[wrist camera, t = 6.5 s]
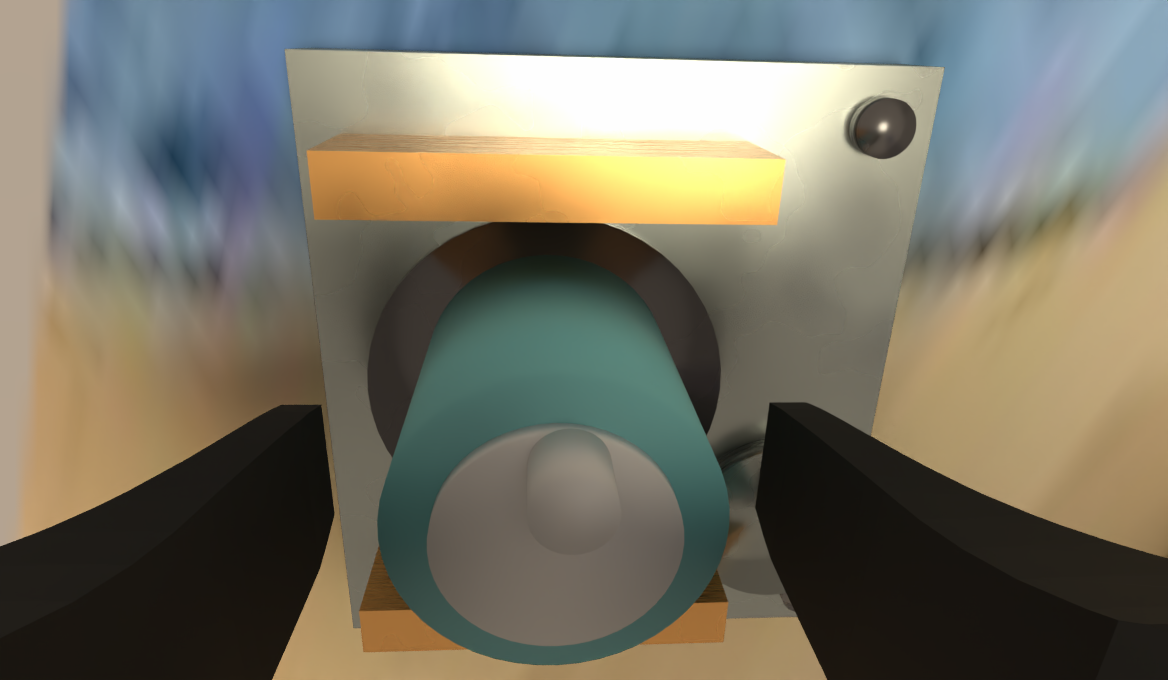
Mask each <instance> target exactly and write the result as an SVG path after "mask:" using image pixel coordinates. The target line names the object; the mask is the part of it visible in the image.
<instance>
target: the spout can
mask: <svg viewBox="0 0 1168 680" xmlns="http://www.w3.org/2000/svg"><path fill="white" fill-rule="evenodd" d="M729 511H730V507H729V500H728V492H727V487H726V484H725V481H724V477H723V474H722V471H721V468H720V466H719V464H718V461H717V459H716V457H715V455H714V452H713V450H712V448H711V445H710V443H709V441H708V439H707V436H706V434H705V432H704V430H703V427H702V425H701V423H700V420H699V418H698V416H697V414H696V411H695V409H694V407H693V404H692V402H691V400H690V398H689V395H688V393H687V391H686V388H685V386H684V384H683V382H682V379H681V377H680V375H679V372H678V370H677V368H676V366H675V363H674V361H673V359H672V357H671V354H670V352H669V350H668V347H667V345H666V343H665V341H664V338H663V336H662V334H661V331H660V329H659V327H658V325H657V323H656V320H655V318H654V316H653V314H652V312H651V311H650V309H649V308H648V306H647V305H646V303H645V302H644V300H643V299H642V298H641V297H640V296H639V294H638V293H637V292H636V291H635V290H634V289H633V288H632V287H631V286H630V285H628V284H627V283H626V282H625V281H624V280H623V279H621V278H620V277H618V276H617V275H615V274H614V273H612V272H610V271H609V270H607V269H605V268H603V267H600V266H598V265H596V264H594V263H591V262H588V261H585V260H581V259H578V258H572V257H567V256H558V255H538V256H528V257H523V258H518V259H514V260H511V261H508V262H505V263H502V264H499V265H497V266H495V267H493V268H491V269H489V270H487V271H485V272H483V273H481V274H480V275H478V276H477V277H475V278H474V279H472V280H471V281H470V282H469V283H467V284H466V285H465V286H464V287H463V288H462V289H461V290H459V291H458V293H457V294H456V295H455V296H454V297H453V298H452V300H451V301H450V302H449V303H448V305H447V306H446V308H445V309H444V311H443V313H442V314H441V316H440V318H439V320H438V322H437V324H436V327H435V329H434V332H433V335H432V338H431V341H430V344H429V347H428V350H427V353H426V357H425V360H424V363H423V366H422V369H421V372H420V375H419V378H418V381H417V384H416V387H415V390H414V394H413V397H412V400H411V403H410V406H409V409H408V412H407V415H406V418H405V421H404V424H403V427H402V430H401V434H400V437H399V440H398V443H397V446H396V449H395V452H394V455H393V458H392V461H391V464H390V467H389V471H388V474H387V477H386V480H385V483H384V487H383V490H382V493H381V497H380V501H379V509H378V517H377V528H378V542H379V547H380V552H381V557H382V560H383V563H384V565H385V568H386V571H387V573H388V576H389V578H390V579H391V581H392V583H393V585H394V587H395V588H396V590H397V592H398V593H399V595H400V596H401V597H402V599H403V600H404V601H405V603H406V604H407V605H408V607H409V608H410V609H411V610H412V611H413V612H414V613H415V614H416V615H417V616H418V617H419V618H420V619H421V620H422V621H423V622H424V623H426V624H427V625H428V626H430V627H431V628H432V629H434V630H435V631H436V632H437V633H439V634H440V635H442V636H444V637H445V638H447V639H449V640H451V641H452V642H454V643H456V644H458V645H460V646H462V647H464V648H467V649H469V650H471V651H473V652H476V653H479V654H482V655H485V656H488V657H491V658H495V659H499V660H504V661H509V662H514V663H522V664H532V665H563V664H573V663H581V662H586V661H591V660H596V659H600V658H604V657H607V656H610V655H613V654H617V653H620V652H622V651H625V650H627V649H629V648H632V647H634V646H636V645H639V644H640V643H642V642H644V641H646V640H648V639H650V638H651V637H653V636H655V635H657V634H658V633H660V632H661V631H662V630H664V629H665V628H667V627H668V626H670V625H671V624H672V623H674V622H675V621H676V620H677V619H678V618H679V617H680V616H682V615H683V614H684V613H685V612H686V611H687V610H688V609H689V608H690V607H691V606H692V605H693V603H694V602H695V601H696V600H697V599H698V598H699V597H700V596H701V594H702V593H703V591H704V590H705V588H706V587H707V585H708V584H709V582H710V581H711V579H712V577H713V575H714V573H715V571H716V569H717V567H718V565H719V564H720V561H721V558H722V555H723V552H724V549H725V546H726V541H727V536H728V530H729Z"/></svg>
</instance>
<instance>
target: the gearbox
mask: <svg viewBox="0 0 1168 680" xmlns="http://www.w3.org/2000/svg"><path fill="white" fill-rule="evenodd" d="M285 56H286V64H287V73H288V81H289V89H290V98H291V106H292V115H293V123H294V131H295V140H296V148H297V157H298V165H299V174H300V182H301V190H302V199H303V207H304V216H305V224H306V232H307V241H308V249H309V258H310V266H311V275H312V283H313V291H314V300H315V308H316V317H317V325H318V333H319V342H320V350H321V359H322V367H323V376H324V384H325V392H326V401H327V409H328V418H329V426H330V434H331V443H332V451H333V460H334V468H335V476H336V485H337V493H338V502H339V510H340V519H341V527H342V535H343V544H344V552H345V561H346V569H347V577H348V586H349V594H350V603H351V611H352V620H353V628H361V633H362V642H363V651H364V652H388V651H423V650H459V649H467V648H464V647H462V646H460V645H458V644H456V643H454V642H452V641H451V640H449V639H447V638H445V637H444V636H442V635H440V634H439V633H437V632H436V631H435V630H434V629H432V628H431V627H430V626H428V625H427V624H426V623H424V622H423V621H422V620H421V619H420V618H419V617H418V616H417V615H416V614H415V613H414V612H413V611H412V610H411V609H410V608H409V607H408V605H407V604H406V603H405V601H404V600H403V599H402V597H401V596H400V595H399V593H398V592H397V590H396V588H395V587H394V585H393V583H392V581H391V579H390V578H389V576H388V573H387V571H386V568H385V565H384V563H383V560H382V557H381V552H380V547H379V542H378V528H377V517H378V509H379V501H380V497H381V493H382V490H383V487H384V483H385V480H386V477H387V474H388V471H389V467H390V464H391V461H392V458H393V455H394V452H395V449H396V446H397V443H398V440H399V437H400V434H401V430H402V427H403V424H404V421H405V418H406V415H407V412H408V409H409V406H410V403H411V400H412V397H413V394H414V390H415V387H416V384H417V381H418V378H419V375H420V372H421V369H422V366H423V363H424V360H425V357H426V353H427V350H428V347H429V344H430V341H431V338H432V335H433V332H434V329H435V327H436V324H437V322H438V320H439V318H440V316H441V314H442V313H443V311H444V309H445V308H446V306H447V305H448V303H449V302H450V301H451V300H452V298H453V297H454V296H455V295H456V294H457V293H458V291H459V290H461V289H462V288H463V287H464V286H465V285H466V284H467V283H469V282H470V281H471V280H472V279H474V278H475V277H477V276H478V275H480V274H481V273H483V272H485V271H487V270H489V269H491V268H493V267H495V266H497V265H499V264H502V263H505V262H508V261H511V260H514V259H518V258H523V257H528V256H538V255H558V256H567V257H572V258H578V259H581V260H585V261H588V262H591V263H594V264H596V265H598V266H600V267H603V268H605V269H607V270H609V271H610V272H612V273H614V274H615V275H617V276H618V277H620V278H621V279H623V280H624V281H625V282H626V283H627V284H628V285H630V286H631V287H632V288H633V289H634V290H635V291H636V292H637V293H638V294H639V296H640V297H641V298H642V299H643V300H644V302H645V303H646V305H647V306H648V308H649V309H650V311H651V312H652V314H653V316H654V318H655V320H656V323H657V325H658V327H659V329H660V331H661V334H662V336H663V338H664V341H665V343H666V345H667V347H668V350H669V352H670V354H671V357H672V359H673V361H674V363H675V366H676V368H677V370H678V372H679V375H680V377H681V379H682V382H683V384H684V386H685V388H686V391H687V393H688V395H689V398H690V400H691V402H692V404H693V407H694V409H695V411H696V414H697V416H698V418H699V420H700V423H701V425H702V427H703V430H704V432H705V434H706V436H707V439H708V441H709V443H710V445H711V448H712V450H713V452H714V455H715V457H716V459H717V461H718V464H719V466H720V468H721V471H722V474H723V477H724V481H725V484H726V487H727V492H728V500H729V507H730V511H729V530H728V536H727V541H726V546H725V549H724V552H723V555H722V558H721V561H720V564H719V565H718V567H717V569H716V571H715V573H714V575H713V577H712V579H711V581H710V582H709V584H708V585H707V587H706V588H705V590H704V591H703V593H702V594H701V596H700V597H699V598H698V599H697V600H696V601H695V602H694V603H693V605H692V606H691V607H690V608H689V609H688V610H687V611H686V612H685V613H684V614H683V615H682V616H680V617H679V618H678V619H677V620H676V621H675V622H674V623H672V624H671V625H670V626H668V627H667V628H665V629H664V630H662V631H661V632H660V633H658V634H657V635H655V636H653V637H651V638H650V639H648V640H646V641H644V642H642V643H640V644H672V643H707V642H723V640H724V632H725V625H726V619H728V618H767V617H797V615H796V613H795V611H794V608H793V606H792V604H791V602H790V600H789V598H788V596H787V594H786V591H785V589H784V587H783V585H782V583H781V581H780V579H779V576H778V574H777V572H776V570H775V568H774V565H773V563H772V561H771V558H770V555H769V552H768V549H767V546H766V543H765V540H764V537H763V533H762V530H761V526H760V523H759V519H758V516H757V512H756V509H755V504H756V497H757V490H758V483H759V475H760V468H761V461H762V454H763V447H764V439H765V432H766V425H767V418H768V410H769V403H770V402H807V403H809V404H812V405H814V406H816V407H818V408H821V409H823V410H825V411H827V412H828V413H830V414H832V415H834V416H836V417H838V418H840V419H841V420H843V421H845V422H847V423H848V424H850V425H852V426H854V427H855V428H857V429H859V430H861V431H863V432H864V433H866V434H868V435H870V436H871V431H872V426H873V421H874V416H875V411H876V406H877V401H878V396H879V391H880V386H881V381H882V376H883V371H884V366H885V362H886V357H887V352H888V347H889V342H890V337H891V332H892V327H893V322H894V317H895V312H896V307H897V302H898V297H899V292H900V287H901V282H902V277H903V272H904V267H905V262H906V257H907V252H908V247H909V242H910V237H911V232H912V227H913V222H914V217H915V212H916V207H917V202H918V197H919V192H920V187H921V182H922V177H923V172H924V167H925V162H926V157H927V152H928V147H929V142H930V138H931V133H932V128H933V123H934V118H935V113H936V108H937V103H938V98H939V93H940V88H941V83H942V78H943V73H944V68H945V67H934V66H920V65H907V64H877V63H841V62H805V61H769V60H733V59H698V58H662V57H626V56H590V55H554V54H518V53H482V52H446V51H410V50H374V49H338V48H296V49H285Z"/></svg>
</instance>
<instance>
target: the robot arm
mask: <svg viewBox="0 0 1168 680" xmlns="http://www.w3.org/2000/svg"><path fill="white" fill-rule="evenodd" d="M755 509H756V512H757V516H758V519H759V523H760V526H761V530H762V533H763V537H764V540H765V543H766V546H767V549H768V552H769V555H770V558H771V561H772V563H773V565H774V568H775V570H776V572H777V574H778V576H779V579H780V581H781V583H782V585H783V587H784V589H785V591H786V594H787V596H788V598H789V600H790V602H791V604H792V606H793V608H794V611H795V613H796V615H797V617H798V619H799V621H800V623H801V625H802V627H803V629H804V632H805V634H806V636H807V638H808V640H809V642H810V644H811V646H812V648H813V650H814V653H815V655H816V657H817V659H818V661H819V663H820V665H821V667H822V669H823V671H824V674H825V676H826V678H827V680H1168V558H1164V557H1160V556H1157V555H1153V554H1149V553H1146V552H1143V551H1139V550H1136V549H1132V548H1129V547H1126V546H1122V545H1119V544H1116V543H1112V542H1109V541H1106V540H1103V539H1100V538H1097V537H1094V536H1091V535H1088V534H1085V533H1082V532H1079V531H1076V530H1073V529H1070V528H1067V527H1064V526H1061V525H1059V524H1056V523H1053V522H1050V521H1048V520H1045V519H1042V518H1040V517H1037V516H1034V515H1032V514H1029V513H1027V512H1024V511H1022V510H1020V509H1017V508H1015V507H1012V506H1010V505H1008V504H1005V503H1003V502H1000V501H998V500H995V499H993V498H991V497H988V496H986V495H984V494H981V493H979V492H977V491H975V490H973V489H970V488H968V487H966V486H964V485H962V484H960V483H958V482H956V481H954V480H952V479H950V478H948V477H946V476H944V475H942V474H940V473H938V472H936V471H934V470H932V469H930V468H928V467H926V466H924V465H922V464H920V463H918V462H916V461H915V460H913V459H911V458H909V457H907V456H905V455H903V454H902V453H900V452H898V451H896V450H894V449H893V448H891V447H889V446H887V445H885V444H884V443H882V442H880V441H878V440H877V439H875V438H873V437H871V436H870V435H868V434H866V433H864V432H863V431H861V430H859V429H857V428H855V427H854V426H852V425H850V424H848V423H847V422H845V421H843V420H841V419H840V418H838V417H836V416H834V415H832V414H830V413H828V412H827V411H825V410H823V409H821V408H818V407H816V406H814V405H812V404H809V403H807V402H770V403H769V410H768V418H767V425H766V432H765V439H764V447H763V454H762V461H761V468H760V475H759V483H758V490H757V497H756V504H755ZM333 518H334V506H333V498H332V489H331V481H330V473H329V465H328V457H327V448H326V440H325V432H324V424H323V416H322V408H321V405H280V406H278V407H276V408H274V409H272V410H270V411H268V412H266V413H264V414H262V415H260V416H259V417H257V418H255V419H253V420H252V421H250V422H248V423H247V424H245V425H243V426H242V427H240V428H238V429H237V430H235V431H233V432H232V433H230V434H228V435H227V436H225V437H223V438H221V439H220V440H218V441H216V442H215V443H213V444H211V445H210V446H208V447H206V448H205V449H203V450H201V451H200V452H198V453H196V454H195V455H193V456H191V457H190V458H188V459H186V460H184V461H183V462H181V463H179V464H177V465H175V466H173V467H172V468H170V469H168V470H166V471H164V472H162V473H161V474H159V475H157V476H155V477H153V478H151V479H149V480H148V481H146V482H144V483H142V484H140V485H138V486H137V487H135V488H133V489H131V490H129V491H127V492H126V493H123V494H121V495H119V496H117V497H115V498H113V499H111V500H109V501H107V502H105V503H103V504H101V505H99V506H97V507H95V508H93V509H91V510H88V511H86V512H84V513H81V514H79V515H77V516H75V517H72V518H70V519H68V520H66V521H63V522H61V523H59V524H57V525H54V526H52V527H50V528H47V529H45V530H42V531H40V532H38V533H35V534H32V535H30V536H27V537H24V538H22V539H19V540H16V541H14V542H11V543H8V544H6V545H3V546H0V680H272V678H273V676H274V674H275V672H276V669H277V667H278V665H279V662H280V660H281V658H282V655H283V653H284V651H285V649H286V646H287V644H288V642H289V639H290V637H291V635H292V633H293V630H294V628H295V626H296V623H297V621H298V619H299V616H300V614H301V612H302V610H303V607H304V605H305V603H306V600H307V598H308V595H309V593H310V591H311V588H312V586H313V584H314V581H315V579H316V576H317V574H318V572H319V569H320V566H321V563H322V559H323V556H324V552H325V549H326V545H327V541H328V537H329V533H330V530H331V526H332V522H333Z"/></svg>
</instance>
